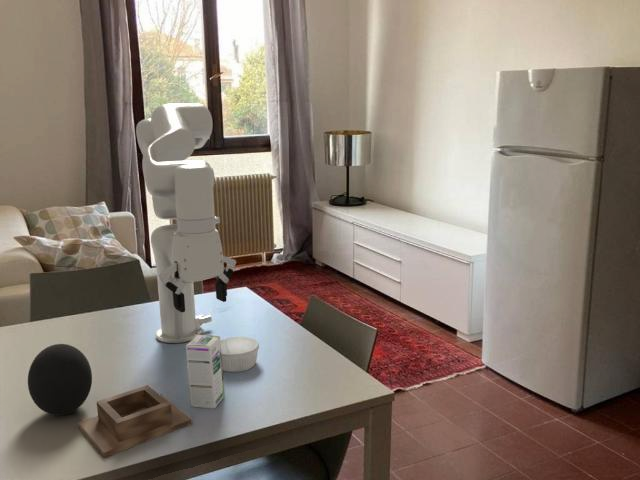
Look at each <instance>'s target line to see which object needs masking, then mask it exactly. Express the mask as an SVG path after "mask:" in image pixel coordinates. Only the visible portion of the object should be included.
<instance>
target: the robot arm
mask: <svg viewBox="0 0 640 480" xmlns="http://www.w3.org/2000/svg"><path fill="white" fill-rule="evenodd" d="M150 115H151V116H150V118H145V119H142V120H140V121H138V123H137V124H136V129H135V132H136V139H137V140H136V141H137V144H138V147H139V149H140V152H141V154H142V164H141V165H142V172H143V173H142V175H143V178H144V182H145V186H146V188H147V189H146V190H147V192H148V193H149V194H150V195H151V200H152V207H153V211H154V214H155V216H156V218H158V219H161V220H176V222H177V223H174V224H172V223H171V224H165V225H161V226H159V227H157V228H155V229H154V230H153V231H152V233H151V235H150V244H151V245H150V246H151V249H152V253H153V256H154V262H155V266H156V267H155V268H156V278H157V291H158V302H159V313H160V314H159V315H160V326H161V327H160V328H159V329H157V331H156V333H155V334H156V335H155V336H156V339H157V340H158V341H160V342H162V343H166V344H181V343H186V342H190V341H191V340H193V339H194V338H195V337H196V335H203V328H202V327H201V326H203V324H208V323H211V322H212V321H213V320H212V316H211V315H210V314H209V315H207V316H206V315H205V316H204V315H203V314H199V315H196V304H195V303H196V301H195V291H194V290H195V288H194V287H195V286H194V283H196V282H200V281H205V280H209V279H214V278H215V279H217V280H215V283H214V284H215V297H216V299H217V300H219V301H221V302H223V303H225V302H227V296H228V288H227V286H228V283H229V280H230V278H231V276H232V275H233V273H234V269H235V266H236V264H237V260H236V259H233V258H232V257H231V258H230V257H228V256H226V255H224V253H223V252H224V251H223V246H222V242H221V238H220V233H219V230H218V229H217V228H216V227H217V226H216V225H217V224H220V223H221V219H220V216H216V215H215V202H214V186H215V172H214V168H213V167H212V166H211V164H210V163H209V162H208V161H206V160H203V159H201V160H200V159H194V160H192V159H191V160H187V159H188V158H190V157H191V155H192V154H193V153H194V151H195V150H197V149H201V148H203V147H204V145H206V142H208V140H209V139H210V137H211V135H212V133H213V127H214V126H213V117H212V114H211V112H210V109H208V107H207V106H206V105H204V104H202V103H194V102H193V103H191V102H190V103H165V104H161V105H159V106H157V107H156V108H155V109H153V111H152V112H151V114H150ZM225 263H226V267H225V265H224V264H225Z"/></svg>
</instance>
